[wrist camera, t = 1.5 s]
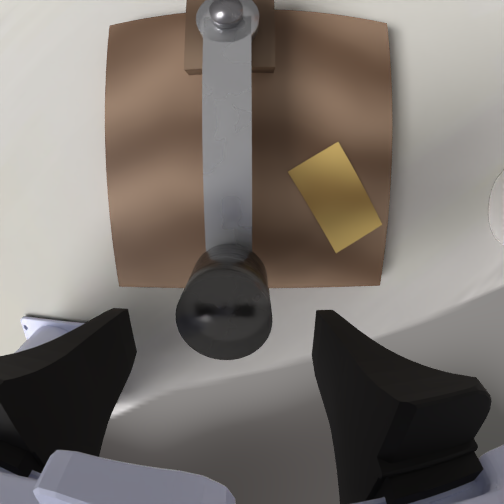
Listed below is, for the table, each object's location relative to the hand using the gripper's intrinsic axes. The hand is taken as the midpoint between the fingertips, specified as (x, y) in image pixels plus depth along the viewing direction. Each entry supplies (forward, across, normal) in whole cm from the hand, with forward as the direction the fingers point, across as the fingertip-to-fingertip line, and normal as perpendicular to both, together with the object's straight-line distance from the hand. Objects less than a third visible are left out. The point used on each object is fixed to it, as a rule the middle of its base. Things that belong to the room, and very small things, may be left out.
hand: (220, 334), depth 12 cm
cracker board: (+10, -1, -7) cm, 13 cm away
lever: (+7, 0, -7) cm, 10 cm away
